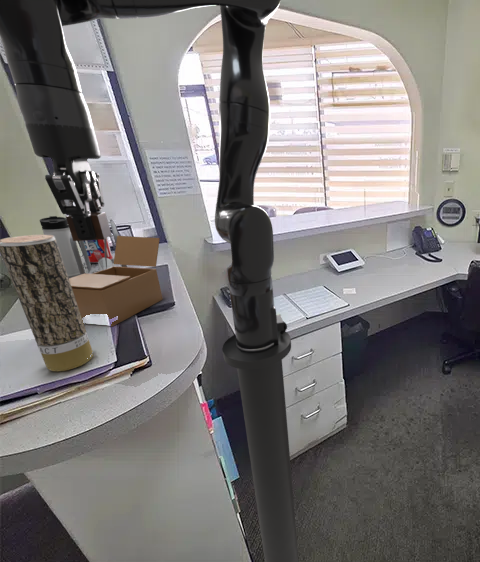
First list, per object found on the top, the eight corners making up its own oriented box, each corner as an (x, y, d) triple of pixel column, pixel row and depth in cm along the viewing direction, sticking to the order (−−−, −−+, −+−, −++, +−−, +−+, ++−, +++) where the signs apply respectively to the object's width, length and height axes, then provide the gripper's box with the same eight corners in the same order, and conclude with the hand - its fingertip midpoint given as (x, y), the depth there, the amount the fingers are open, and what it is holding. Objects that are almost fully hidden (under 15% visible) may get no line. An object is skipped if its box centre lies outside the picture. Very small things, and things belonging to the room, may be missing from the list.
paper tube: (84, 349, 65) (44, 233, 57) (101, 358, 63) (62, 237, 54) (40, 366, 60) (-12, 239, 51) (57, 377, 57) (6, 245, 48)
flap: (113, 264, 88) (114, 264, 88) (155, 266, 87) (156, 266, 87) (117, 235, 89) (118, 235, 89) (159, 238, 88) (159, 238, 88)
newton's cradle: (88, 272, 110) (73, 222, 103) (125, 267, 116) (113, 219, 110) (88, 300, 88) (68, 238, 82) (133, 291, 95) (118, 234, 89)
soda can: (118, 259, 124) (108, 222, 119) (98, 265, 117) (86, 225, 112) (103, 257, 126) (92, 221, 121) (81, 263, 119) (69, 224, 114)
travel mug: (83, 272, 109) (66, 215, 102) (84, 277, 105) (66, 218, 98) (59, 275, 105) (39, 216, 98) (58, 281, 101) (37, 219, 94)
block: (111, 234, 55) (105, 212, 54) (104, 239, 52) (97, 215, 50) (82, 236, 53) (75, 212, 52) (73, 241, 50) (65, 216, 49)
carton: (122, 296, 91) (113, 263, 88) (163, 299, 90) (155, 266, 87) (63, 322, 76) (50, 284, 72) (112, 326, 75) (100, 288, 71)
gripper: (73, 121, 42) (107, 244, 48) (106, 130, 54) (130, 227, 60) (-4, 116, 39) (43, 248, 45) (49, 126, 51) (81, 229, 57)
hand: (93, 236), depth 52 cm, fingers closed on block, 4 cm apart
